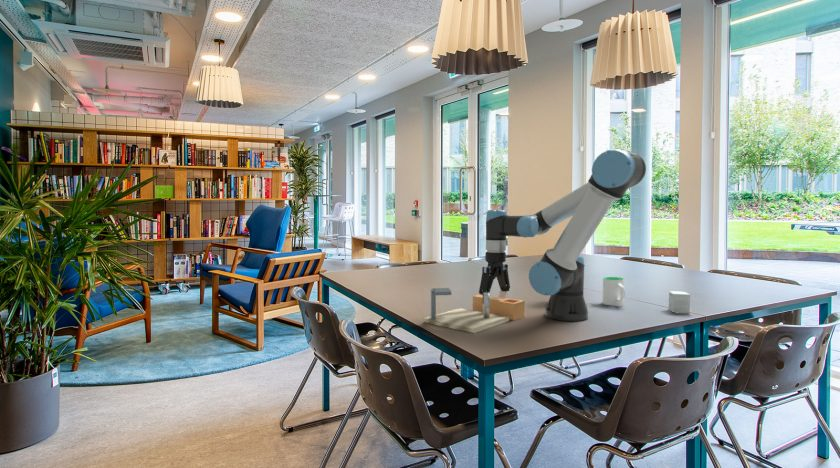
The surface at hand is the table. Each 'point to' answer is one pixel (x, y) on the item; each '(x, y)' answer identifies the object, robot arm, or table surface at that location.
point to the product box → (679, 302)
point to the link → (501, 306)
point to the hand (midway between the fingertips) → (494, 310)
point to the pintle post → (486, 304)
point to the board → (466, 320)
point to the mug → (613, 291)
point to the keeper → (433, 299)
